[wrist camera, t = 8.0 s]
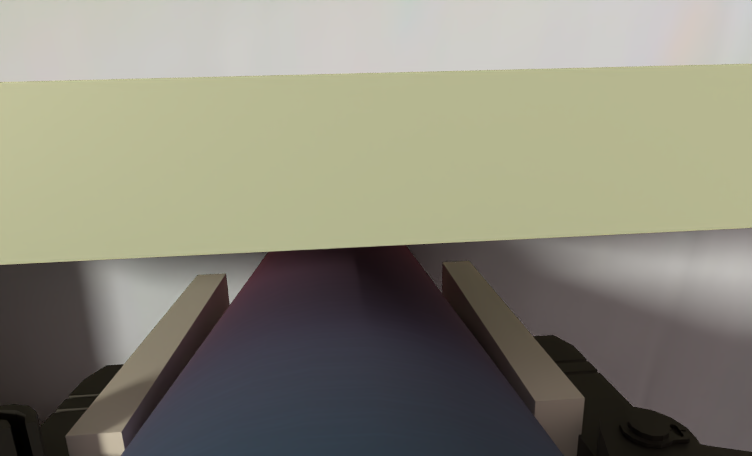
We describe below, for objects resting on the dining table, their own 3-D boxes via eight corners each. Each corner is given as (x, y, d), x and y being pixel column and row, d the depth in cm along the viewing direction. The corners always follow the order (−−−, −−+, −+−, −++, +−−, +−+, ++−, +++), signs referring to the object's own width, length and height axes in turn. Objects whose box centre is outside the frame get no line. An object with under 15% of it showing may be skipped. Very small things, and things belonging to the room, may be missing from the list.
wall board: (-143, 179, 14) (-1003, 313, 5) (-165, 107, 13) (-1166, 111, 4) (669, 150, 15) (1112, 210, 6) (677, 84, 15) (1169, 54, 6)
